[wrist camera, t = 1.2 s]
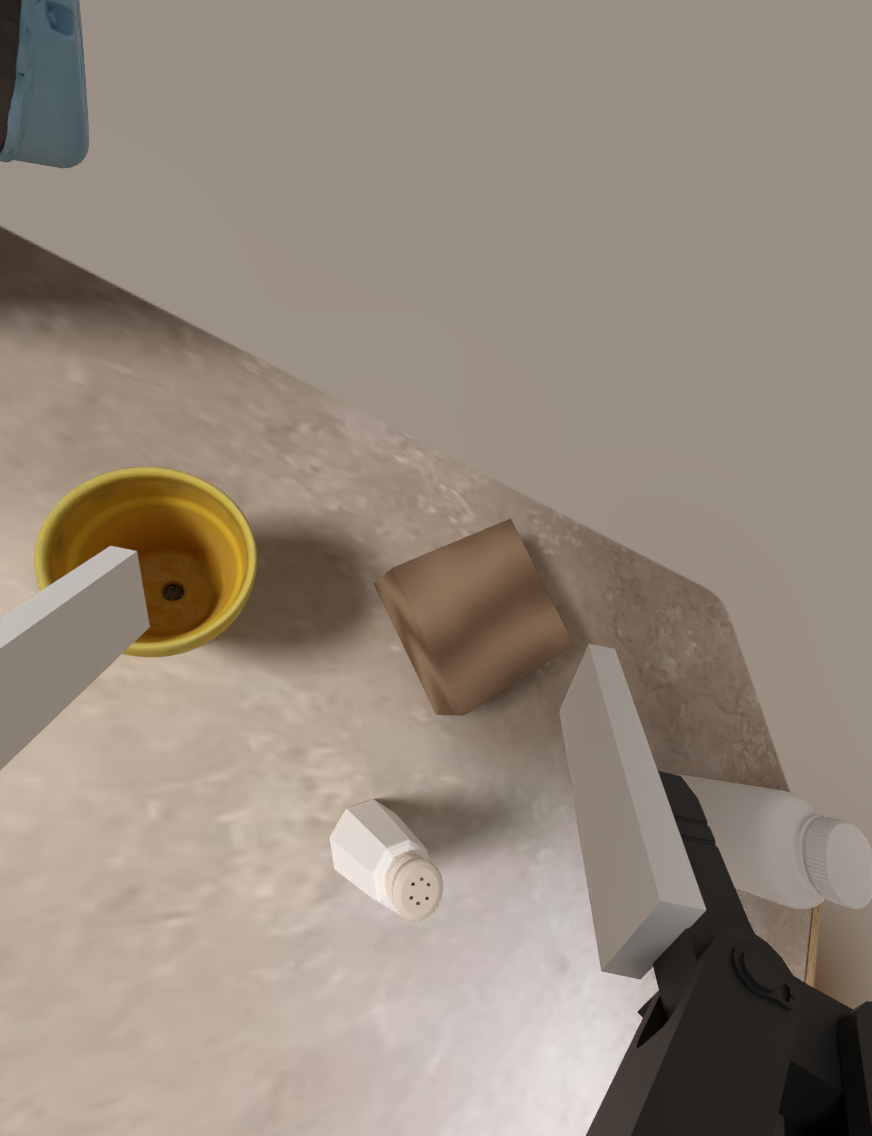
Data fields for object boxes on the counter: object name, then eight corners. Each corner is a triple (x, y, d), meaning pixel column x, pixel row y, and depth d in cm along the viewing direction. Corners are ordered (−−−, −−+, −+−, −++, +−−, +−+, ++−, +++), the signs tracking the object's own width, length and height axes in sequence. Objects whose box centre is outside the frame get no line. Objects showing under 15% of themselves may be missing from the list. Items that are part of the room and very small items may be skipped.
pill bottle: (655, 880, 43) (846, 956, 30) (628, 788, 44) (799, 821, 31) (711, 846, 46) (904, 900, 33) (684, 761, 48) (859, 781, 35)
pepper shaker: (337, 795, 34) (380, 828, 25) (406, 802, 36) (472, 837, 26) (320, 880, 33) (359, 953, 23) (394, 884, 34) (459, 954, 25)
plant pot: (259, 537, 37) (269, 485, 29) (239, 672, 34) (243, 659, 25) (104, 513, 33) (62, 445, 25) (66, 662, 30) (2, 643, 22)
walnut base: (373, 583, 40) (392, 568, 35) (482, 537, 45) (510, 518, 41) (436, 714, 39) (463, 715, 35) (539, 650, 44) (574, 644, 40)
